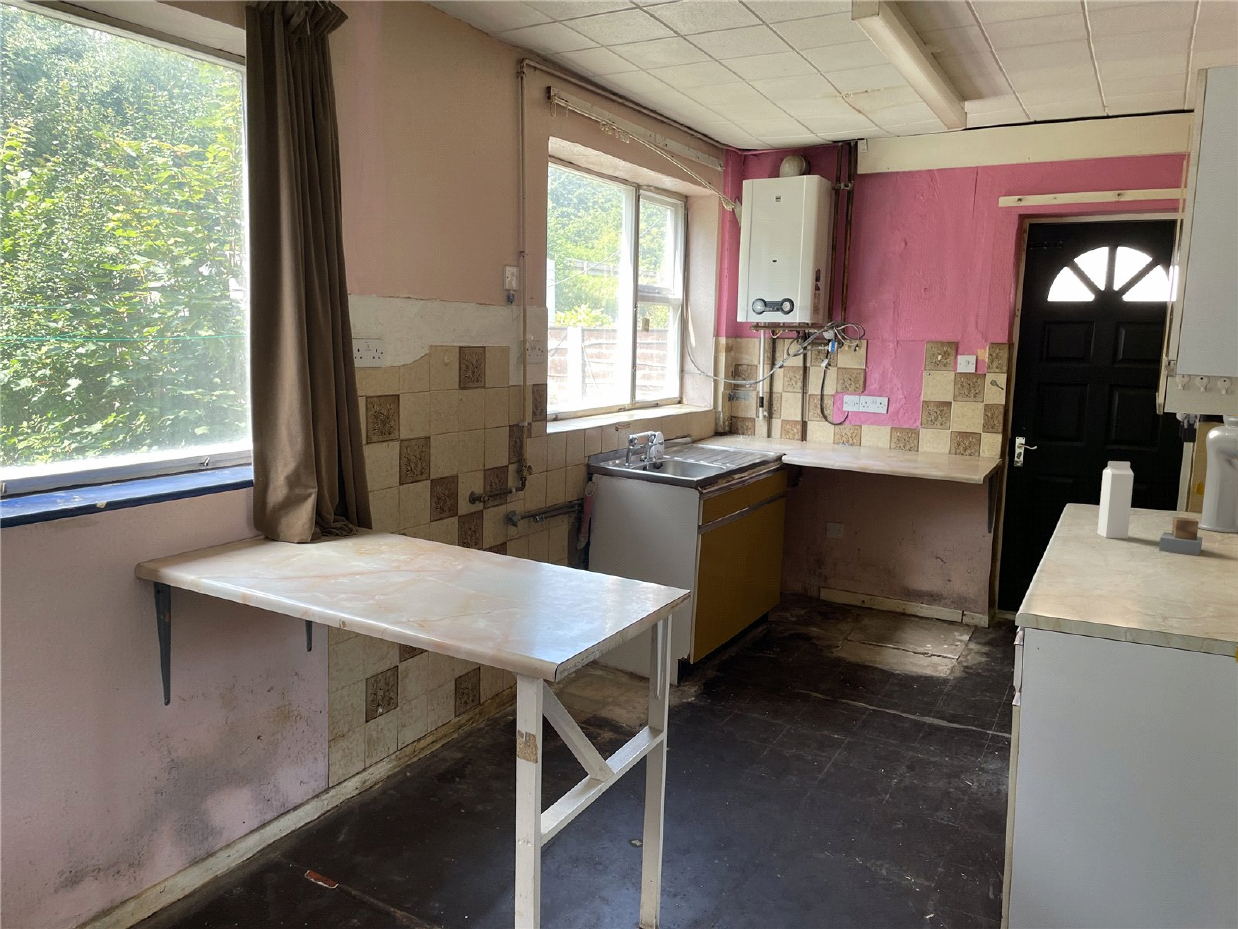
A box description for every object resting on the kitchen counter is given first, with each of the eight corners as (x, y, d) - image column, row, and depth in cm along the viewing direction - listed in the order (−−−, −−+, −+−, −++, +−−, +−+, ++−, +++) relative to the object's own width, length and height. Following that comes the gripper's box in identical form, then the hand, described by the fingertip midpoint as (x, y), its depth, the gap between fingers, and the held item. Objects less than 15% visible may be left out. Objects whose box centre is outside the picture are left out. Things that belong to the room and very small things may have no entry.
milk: (1127, 539, 251) (1135, 463, 248) (1105, 538, 252) (1113, 462, 249) (1118, 534, 257) (1125, 460, 254) (1096, 533, 258) (1103, 459, 255)
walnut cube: (1193, 536, 239) (1194, 518, 238) (1196, 539, 234) (1198, 521, 233) (1171, 534, 241) (1173, 516, 240) (1174, 538, 236) (1176, 519, 235)
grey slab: (1201, 551, 239) (1202, 536, 238) (1198, 557, 232) (1200, 542, 231) (1162, 546, 244) (1164, 532, 244) (1158, 551, 237) (1160, 537, 237)
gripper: (1174, 378, 255) (1169, 436, 258) (1179, 381, 240) (1174, 443, 242) (1204, 378, 251) (1199, 437, 254) (1212, 382, 236) (1206, 444, 239)
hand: (1187, 440), depth 248 cm, fingers open, 9 cm apart
